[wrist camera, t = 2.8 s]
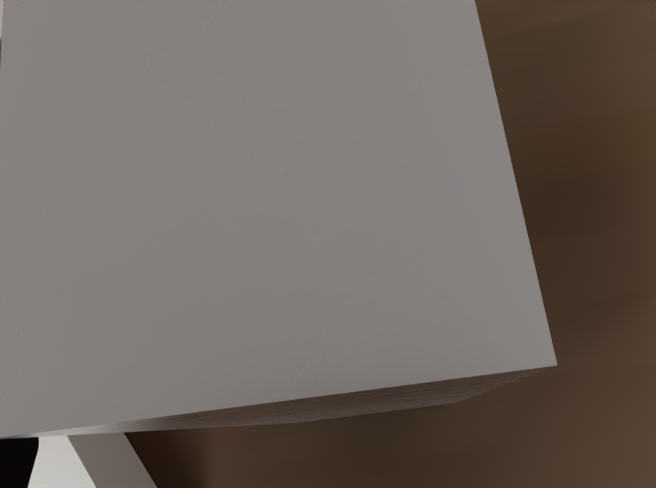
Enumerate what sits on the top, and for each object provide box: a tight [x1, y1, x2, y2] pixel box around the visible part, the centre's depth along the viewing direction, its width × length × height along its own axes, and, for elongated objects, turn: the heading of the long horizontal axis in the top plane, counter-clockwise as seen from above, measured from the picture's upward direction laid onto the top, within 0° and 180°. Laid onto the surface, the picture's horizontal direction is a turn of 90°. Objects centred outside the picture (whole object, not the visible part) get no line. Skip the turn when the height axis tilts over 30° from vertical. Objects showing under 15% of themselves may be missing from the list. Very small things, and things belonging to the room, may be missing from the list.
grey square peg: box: [0, 0, 557, 439], centre depth 11 cm, size 4×4×13 cm
